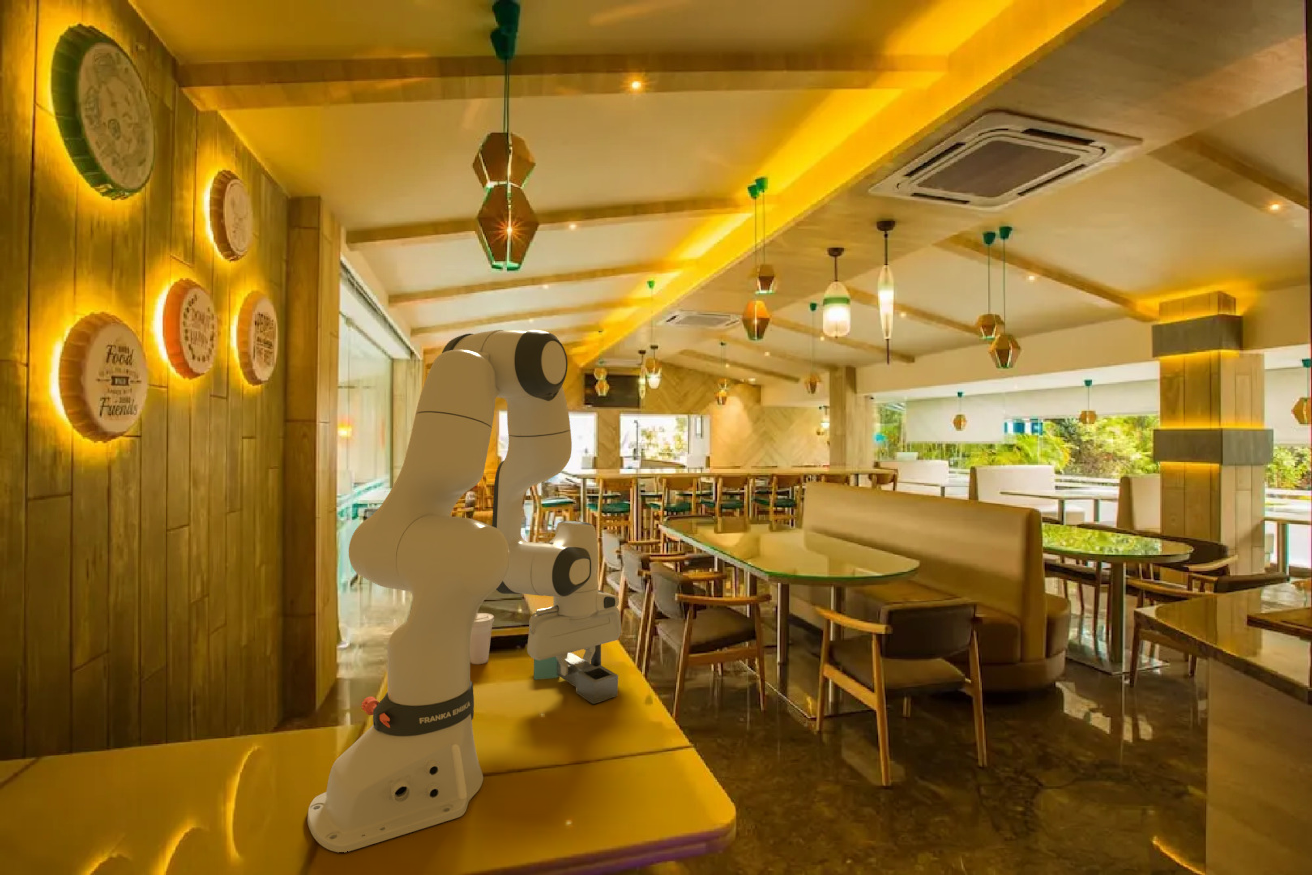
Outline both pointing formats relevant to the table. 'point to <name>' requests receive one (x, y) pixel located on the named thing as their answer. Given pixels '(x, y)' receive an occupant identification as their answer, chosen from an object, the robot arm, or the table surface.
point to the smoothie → (481, 638)
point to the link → (590, 679)
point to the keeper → (545, 668)
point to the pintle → (596, 656)
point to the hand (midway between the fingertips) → (575, 671)
